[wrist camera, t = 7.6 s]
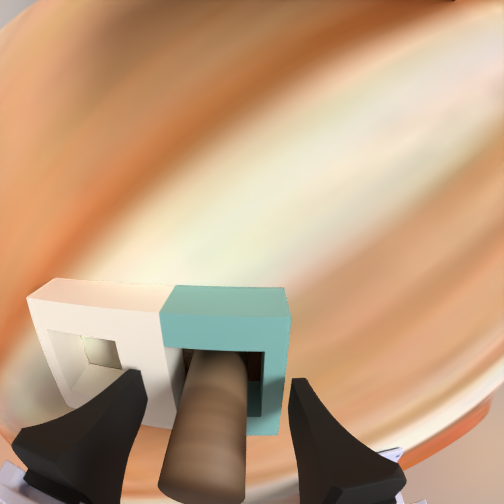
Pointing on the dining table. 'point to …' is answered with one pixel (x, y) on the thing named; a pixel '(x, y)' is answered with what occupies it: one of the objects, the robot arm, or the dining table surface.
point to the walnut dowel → (209, 432)
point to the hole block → (162, 339)
